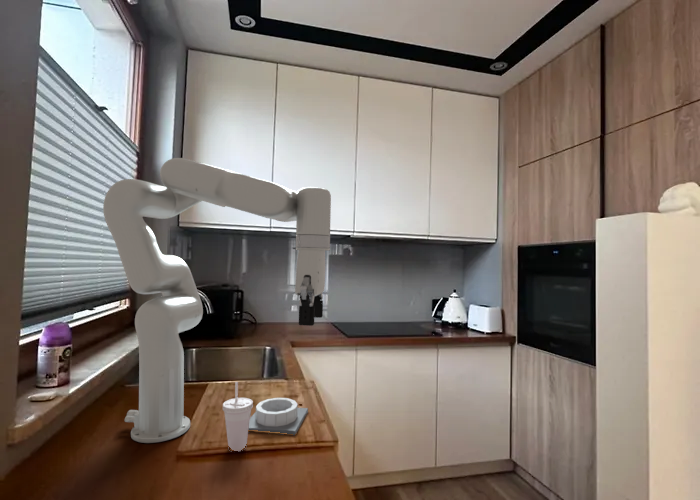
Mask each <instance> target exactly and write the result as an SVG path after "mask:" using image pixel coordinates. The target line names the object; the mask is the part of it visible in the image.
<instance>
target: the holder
mask: <svg viewBox="0 0 700 500" xmlns="http://www.w3.org/2000/svg"><path fill="white" fill-rule="evenodd" d="M308 413H309V408H308V407H298V402H296V400H295V399H291V398H287V397H273V398H267V399H264V400H261V401H260V402H258V403H257V405H256V406H255V412H254V413H253V414H252V415H250V422H249V430H258V431H270V432H280V433H287V434H293V435H292V436H296V435H295V434H297V433H298V431H299V430H300V427H301V426H302V424H303V421H304V420H305V419H306V417H307V414H308Z"/></svg>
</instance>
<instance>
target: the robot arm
mask: <svg viewBox="0 0 700 500" xmlns="http://www.w3.org/2000/svg"><path fill="white" fill-rule="evenodd" d="M159 175H160V180H161V182H162V183H163V185H161V184H156V183H153V182H150V181H146V180H142V179H134V178H125V179H121V180H118V181H116V182H115V183H113V184H112V185H111V186H110V187H109V189H108V190H107V192H106V194H105V196H104V201H103V209H102V211H103V216H104V219H105V220H104V221H105V223H106V225H107V228H108V230H109V233H110V234H111V236H112V239H113V240H114V243H115V246H116V249H117V252H118V255H119V258H120V261H121V264H122V267H123V270H124V272H125V276H126V279H127V281H128V283H129V286H130V288H131V289H132V290H133V291H134V292H135V293H136V294H138V295H139V294H140V295H155V294H159V293H161V296H159V297H156V298H155V297H154V298H152V299H150V300H147V301H146V302H144V303H142V305H141V306H139V308H138V309H137V310H136V313H135V318H134V327H135V332H136V337H137V342H138V354H139V355H138V356H139V357H138V361H139V362H138V363H139V364H138V365H139V366H138V367H139V371H138V374H139V376H138V379H139V381H138V383H139V385H138V410H137V409H129V410H128V411H127V413H126V416H125V418H124V422H125V423H133V425H134V427H133V426H132V429H131V431H130V437H131V439H132V440H133V441H135V442H138V443H144V444H154V443H161V442H166V441H169V440H173V439H176V438H178V437H180V436H181V435H184V434H185V433H187V431H188V430H190V427H191V420H190V418H189V417H187V416H186V415H184V404H185V403H184V401H185V398H184V397H185V395H184V394H185V392H184V391H185V390H184V389H185V388H184V386H185V379H184V378H185V374H184V373H185V370H184V369H185V355H184V354H185V352H184V348H183V343H182V341H181V338H180V335H179V334H180V333H184V332H185V331H189V330H191V329H193V328H194V327H196V326H197V325H199V323H200V322H201V320H202V319H203V314H204V309H203V308H204V306H203V303H202V300H201V296H200V294H199V291H198V289H197V286H196V285H197V284H196V283H195V280H194V277H193V274H192V272H191V271H192V270H191V269H190V267H189V266H188V264H187V263H186V262H185V260H183V258H181V257H179V256H176V255H173V254H163V253H162V251H161V250H160V247H159V245H158V241H157V238H156V236H155V233H154V232H153V230H152V229H151V227H150V226H149V225H148V224H147V222H145V220H144V218H143V217H146V218H153V219H158V220H159V219H160V220H164V219H165V220H166V219H171V218H174V217H176V216H178V215H180V214H181V213H184V212H185V211H187V210H189V209H191V208H193V207H194V206H196V205H198V204H199V203H202V202H206V203H209V204H213V205H215V206H219V207H222V208H225V207H228V208H232V209H234V210H235V209H236V210H237V211H238V210H239V211H242V212H245V213H248V214H253V215H255V216H258V217H262V218H266V219H271V220H274V221H277V222H283V223H289V222H295V221H296V226H295V227H296V228H295V229H296V230H295V232H296V233H295V238H296V239H295V250H296V251H298V253H297V258H296V268H295V269H296V270H295V271H296V272H295V287H294V294H295V295H296V296H299V302H298V326H311V327H312V326H314V325H315V319H316V318H318V319H321V318H323V315H324V313H323V312H324V300H323V299H324V298H323V297H324V295H323V293H324V291H325V285H326V284H325V283H326V251H330V250H331V248H330V247H331V216H332V215H331V213H332V212H331V207H332V205H331V203H332V196H331V195H332V194H331V192H330V191H329V190H328V189H326V188H325V187H324V188H323V187H316V186H307V187H301V188H300V189H298V190H297V191H296V190H292V189H289V188H287V187H285V186H283V185H280V184H278V183H275V182H273V181H269V180H266V179H262V178H258V177H254V176H250V175H247V174H243V173H239V172H235V171H233V170H230V169H224V168H221V167H218V166H214V165H210V164H207V163H203V162H199V161H195V160H193V159H188V158H184V157H174V158H170V159H168V160H166V161H165V162H164V163H163V164H162V166H161V168H160V171H159Z"/></svg>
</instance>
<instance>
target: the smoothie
mask: <svg viewBox="0 0 700 500" xmlns="http://www.w3.org/2000/svg"><path fill="white" fill-rule="evenodd" d="M234 384H235V386H234V390H235V392H234V395H235V396H234V398H230V399H228V400H225V401H224V402H223V403H222V411H223V412H224V420H225V421H224V422H225V429H226V437H227V445H228V446H229V447H230V448H231V449H232V450H234V451H238V452H241V450H242V449H243V448H245V446H246V447H247V445H246V444H247V443H248V436H249V432H248V430H249V422H250V418H251V416H252V415H251V414H252V409H253V407H254V404H253V403H254V401H253V399H250V398H247V397H238V396H239V382H238V381H235V382H234ZM229 447H228V448H229ZM245 449H246V448H245ZM242 451H243V450H242Z"/></svg>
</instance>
